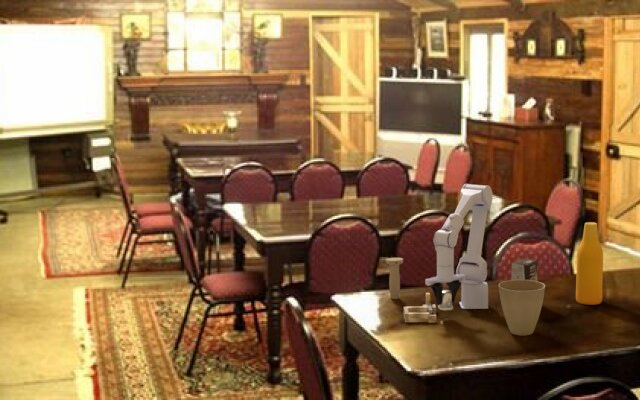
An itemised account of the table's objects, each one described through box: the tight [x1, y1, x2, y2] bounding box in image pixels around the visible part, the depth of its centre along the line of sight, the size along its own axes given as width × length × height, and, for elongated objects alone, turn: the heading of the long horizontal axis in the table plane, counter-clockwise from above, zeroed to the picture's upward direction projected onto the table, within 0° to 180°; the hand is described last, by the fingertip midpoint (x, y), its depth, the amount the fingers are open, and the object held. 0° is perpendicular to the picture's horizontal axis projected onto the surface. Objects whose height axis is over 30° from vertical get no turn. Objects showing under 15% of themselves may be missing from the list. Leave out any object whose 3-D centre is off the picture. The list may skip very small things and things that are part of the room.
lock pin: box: [425, 292, 433, 315], centre depth 331 cm, size 1×11×5 cm, turn 179°
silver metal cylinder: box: [437, 289, 454, 312], centre depth 321 cm, size 5×5×6 cm
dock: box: [403, 303, 437, 324], centre depth 325 cm, size 11×14×3 cm
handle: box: [385, 257, 404, 300], centre depth 348 cm, size 5×6×15 cm
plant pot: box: [497, 279, 546, 336], centre depth 305 cm, size 15×15×16 cm
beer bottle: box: [575, 221, 604, 306], centre depth 337 cm, size 9×9×29 cm
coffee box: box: [510, 258, 538, 281], centre depth 336 cm, size 9×6×16 cm
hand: (445, 303), depth 321 cm, fingers closed on silver metal cylinder, 4 cm apart
